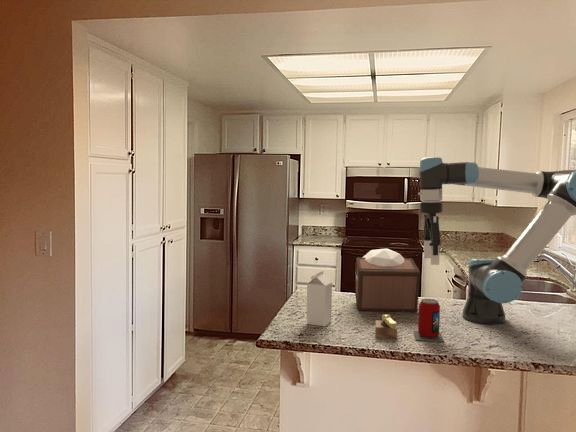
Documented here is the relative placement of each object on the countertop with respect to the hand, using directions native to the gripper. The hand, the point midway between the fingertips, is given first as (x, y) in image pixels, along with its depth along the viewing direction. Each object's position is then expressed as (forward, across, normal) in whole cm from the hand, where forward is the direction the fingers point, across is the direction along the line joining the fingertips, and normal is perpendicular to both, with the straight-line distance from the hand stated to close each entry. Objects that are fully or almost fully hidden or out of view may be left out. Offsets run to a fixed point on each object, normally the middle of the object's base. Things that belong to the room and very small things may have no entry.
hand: (431, 261), depth 166 cm
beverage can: (+24, +11, -3) cm, 26 cm away
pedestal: (+23, +10, -17) cm, 31 cm away
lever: (+19, +14, -16) cm, 28 cm away
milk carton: (+23, +1, -40) cm, 46 cm away
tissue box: (+24, -30, -15) cm, 41 cm away
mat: (+24, +11, -3) cm, 27 cm away
